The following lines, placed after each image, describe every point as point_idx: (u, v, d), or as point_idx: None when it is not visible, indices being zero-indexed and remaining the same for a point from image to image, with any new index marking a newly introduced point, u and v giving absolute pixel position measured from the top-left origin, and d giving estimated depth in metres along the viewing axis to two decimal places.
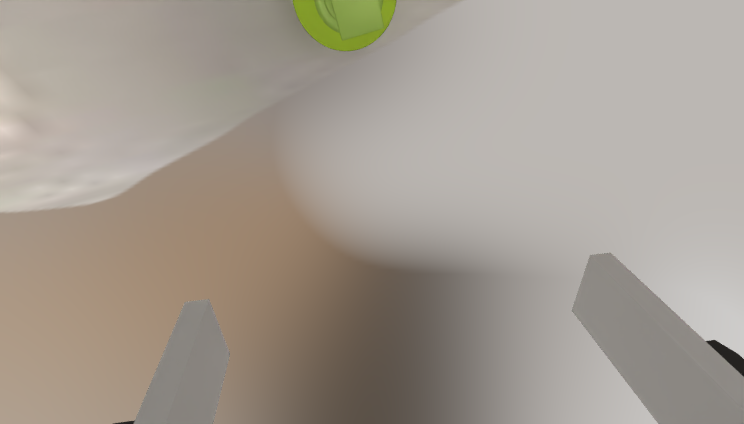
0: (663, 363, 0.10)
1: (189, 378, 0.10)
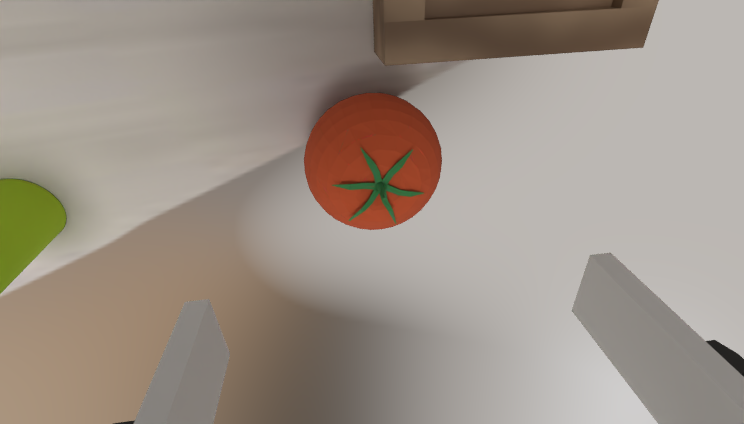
0: (663, 363, 0.10)
1: (189, 378, 0.10)
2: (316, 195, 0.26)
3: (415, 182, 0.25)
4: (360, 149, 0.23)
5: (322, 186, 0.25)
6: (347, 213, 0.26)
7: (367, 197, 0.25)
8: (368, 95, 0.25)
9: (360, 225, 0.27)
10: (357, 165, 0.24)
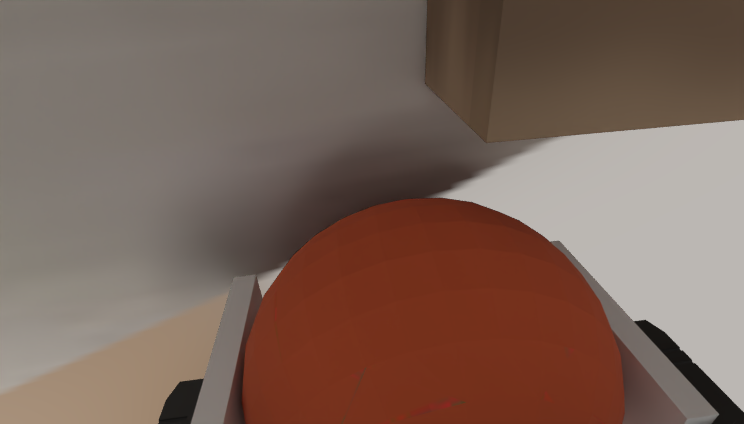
0: None
1: (246, 342, 0.11)
2: None
3: None
4: None
5: None
6: None
7: None
8: (423, 223, 0.08)
9: None
10: None
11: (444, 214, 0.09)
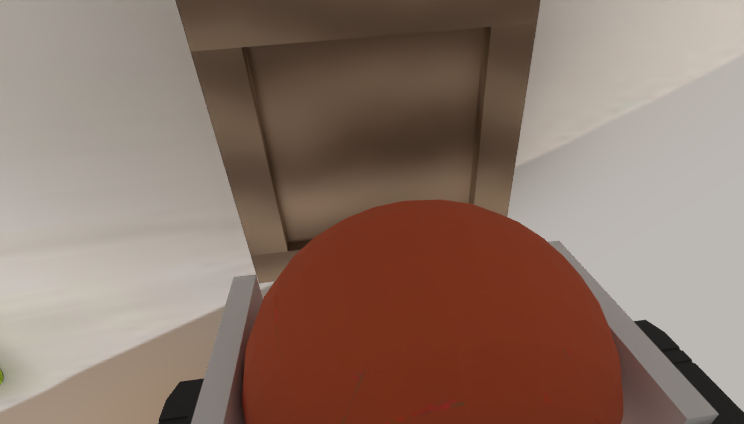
0: None
1: (246, 342, 0.11)
2: None
3: None
4: None
5: None
6: None
7: None
8: (422, 225, 0.08)
9: None
10: None
11: (443, 216, 0.09)
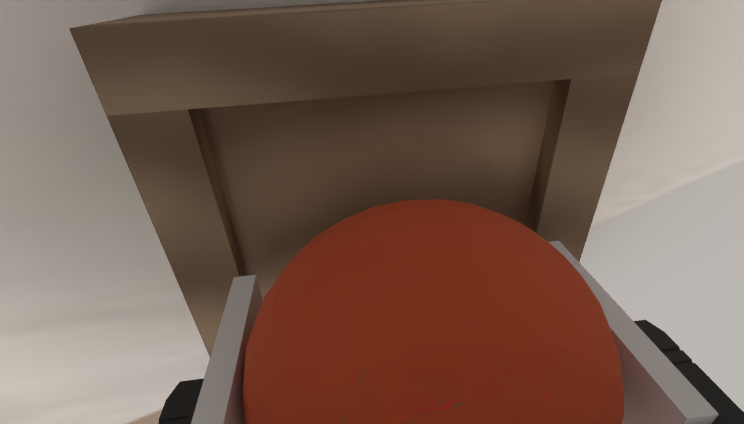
0: None
1: (246, 342, 0.11)
2: None
3: None
4: None
5: None
6: None
7: None
8: (423, 224, 0.08)
9: None
10: None
11: (444, 215, 0.09)
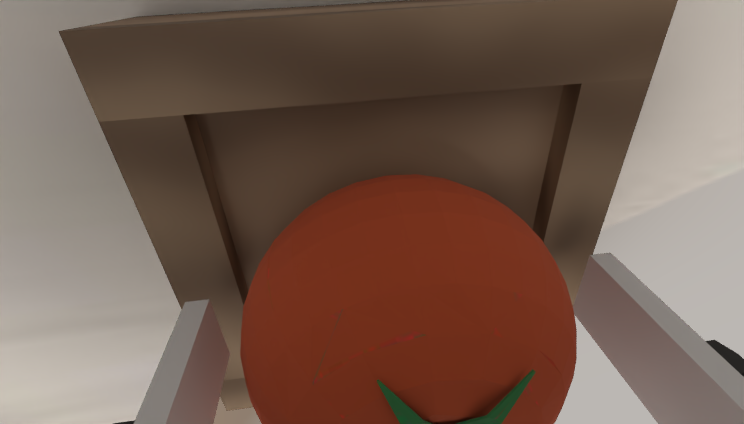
0: (663, 363, 0.10)
1: (189, 378, 0.10)
2: None
3: None
4: (377, 379, 0.08)
5: None
6: None
7: None
8: (396, 192, 0.10)
9: None
10: (367, 418, 0.08)
11: (415, 185, 0.10)
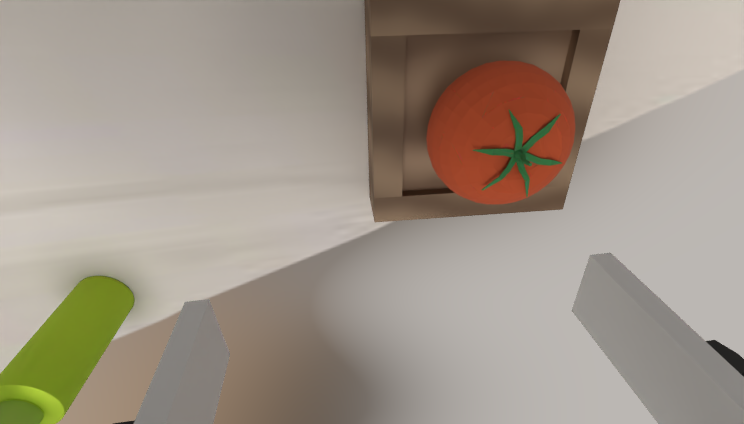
0: (663, 363, 0.10)
1: (189, 378, 0.10)
2: (444, 164, 0.26)
3: (556, 150, 0.24)
4: (507, 112, 0.23)
5: (456, 153, 0.24)
6: (479, 183, 0.25)
7: (503, 165, 0.24)
8: (505, 61, 0.25)
9: (487, 197, 0.26)
10: (501, 129, 0.23)
11: (512, 61, 0.25)
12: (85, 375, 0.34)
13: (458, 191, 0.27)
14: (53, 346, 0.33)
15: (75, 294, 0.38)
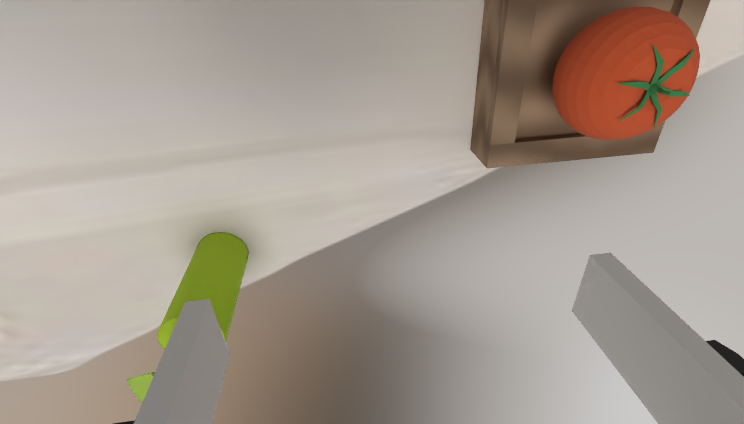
0: (663, 363, 0.10)
1: (189, 378, 0.10)
2: (581, 102, 0.29)
3: (686, 83, 0.28)
4: (650, 48, 0.26)
5: (597, 89, 0.28)
6: (615, 116, 0.28)
7: (639, 98, 0.28)
8: (637, 7, 0.28)
9: (617, 130, 0.30)
10: (644, 64, 0.26)
11: None
12: (232, 314, 0.38)
13: (588, 127, 0.30)
14: (208, 287, 0.36)
15: (207, 247, 0.42)
